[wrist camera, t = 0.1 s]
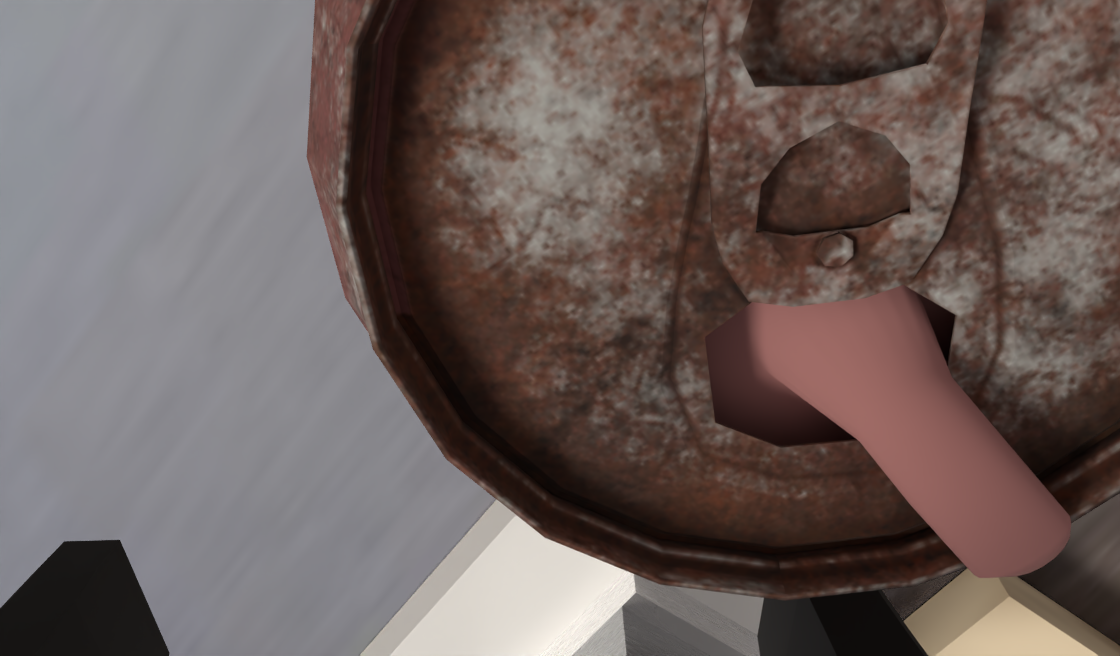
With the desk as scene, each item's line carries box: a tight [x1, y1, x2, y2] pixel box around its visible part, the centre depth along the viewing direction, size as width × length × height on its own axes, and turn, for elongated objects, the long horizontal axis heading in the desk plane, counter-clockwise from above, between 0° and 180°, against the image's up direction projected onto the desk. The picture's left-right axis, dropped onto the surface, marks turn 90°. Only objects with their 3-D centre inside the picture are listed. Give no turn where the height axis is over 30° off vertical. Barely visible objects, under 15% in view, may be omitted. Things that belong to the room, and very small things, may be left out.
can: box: [307, 0, 1120, 601], centre depth 11 cm, size 6×6×14 cm
